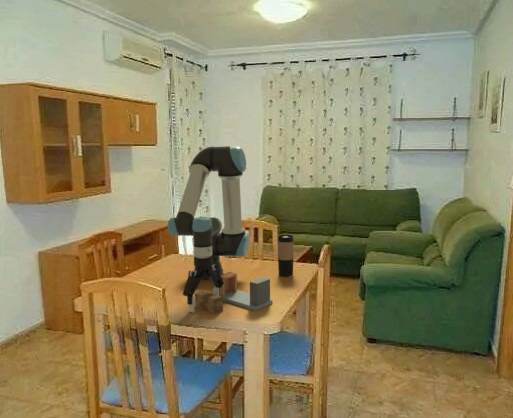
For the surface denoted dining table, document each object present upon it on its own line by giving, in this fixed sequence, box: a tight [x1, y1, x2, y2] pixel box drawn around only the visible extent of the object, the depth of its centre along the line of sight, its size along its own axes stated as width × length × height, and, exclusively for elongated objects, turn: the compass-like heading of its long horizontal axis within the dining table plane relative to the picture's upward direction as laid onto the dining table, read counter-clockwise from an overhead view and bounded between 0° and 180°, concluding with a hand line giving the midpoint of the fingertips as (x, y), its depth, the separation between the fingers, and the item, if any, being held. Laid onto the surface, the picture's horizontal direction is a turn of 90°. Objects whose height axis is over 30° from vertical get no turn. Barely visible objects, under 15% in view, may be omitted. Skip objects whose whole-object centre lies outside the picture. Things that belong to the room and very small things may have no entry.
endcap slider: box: [219, 271, 238, 296], centre depth 195 cm, size 4×8×8 cm, turn 139°
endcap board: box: [219, 276, 273, 312], centre depth 189 cm, size 25×11×11 cm, turn 49°
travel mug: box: [277, 234, 294, 278], centre depth 224 cm, size 8×8×20 cm
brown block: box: [194, 290, 224, 315], centre depth 180 cm, size 12×4×6 cm, turn 49°
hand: (204, 307), depth 182 cm, fingers open, 13 cm apart
